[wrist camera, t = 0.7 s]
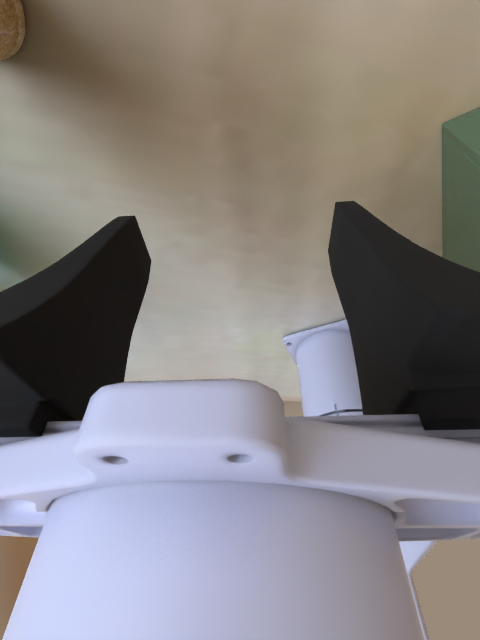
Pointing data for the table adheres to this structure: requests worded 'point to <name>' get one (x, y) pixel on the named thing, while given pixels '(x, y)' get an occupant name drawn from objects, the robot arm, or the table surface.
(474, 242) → the chest
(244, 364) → the table surface
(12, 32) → the sprinkles bottle
